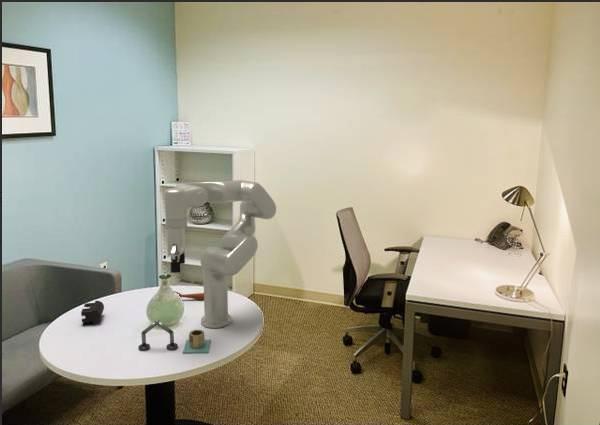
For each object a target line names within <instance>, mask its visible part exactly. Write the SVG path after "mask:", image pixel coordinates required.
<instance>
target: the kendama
mask: <svg viewBox="0 0 600 425" xmlns="http://www.w3.org/2000/svg"><path fill="white" fill-rule="evenodd" d="M175 292H176V293H177V294H179V296H180V297H181V298H187V299H195V300H203V301H204V292H200V293H199V292H198V293H188V294H182V293H180V292H178V291H176V290H175V291H174V293H175Z"/></svg>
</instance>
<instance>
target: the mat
mask: <svg viewBox="0 0 600 425" xmlns="http://www.w3.org/2000/svg"><path fill="white" fill-rule="evenodd" d="M211 342H212V340H211V339H205V345H204V347H202V348H200V349H192V348H190V344H189V339H186V341H185V344H184V347H183V350H182V354H183V355H184V354H185V355H186V354H189V355H190V354H209V351H210V346H211Z"/></svg>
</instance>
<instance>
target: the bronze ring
mask: <svg viewBox="0 0 600 425" xmlns="http://www.w3.org/2000/svg"><path fill="white" fill-rule="evenodd" d="M205 337H206V336H205V331H204V330H202V329H193V330H191V331H189V333H188V340H189V344H190V348H192V349H200V348H202V347H204V345H205V340H206V339H205Z"/></svg>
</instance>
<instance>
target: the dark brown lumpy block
mask: <svg viewBox="0 0 600 425" xmlns="http://www.w3.org/2000/svg"><path fill="white" fill-rule="evenodd" d="M83 307H84V308H82V309H81V311H80V312H81V313H80V315H81V317H85V318H81V322H82V326H83V327H87V326H89V327H90V326H95V325H96V324H98V323H99V322H100V320H101V318H102V315H103V312H104V310H105V306H104V303H103V302H102V301H100V300H95V301H94V302H87V303H86V302H85V303H84V305H83Z"/></svg>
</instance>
